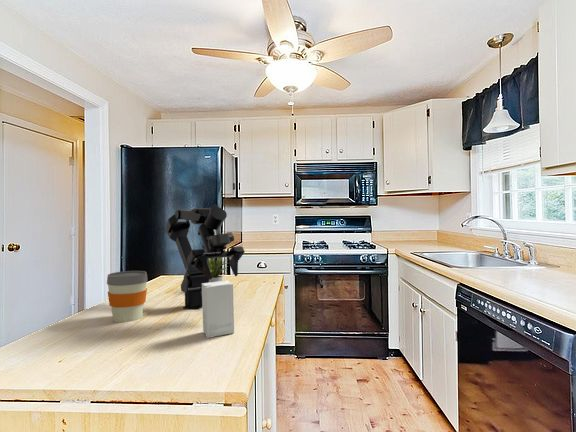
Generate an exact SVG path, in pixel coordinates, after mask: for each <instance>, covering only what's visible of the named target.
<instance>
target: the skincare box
mask: <svg viewBox="0 0 576 432" xmlns="http://www.w3.org/2000/svg"><path fill="white" fill-rule="evenodd" d="M234 302H235V301H234V283H232V282H231V281H229V280H228V279H227V280H222V281H218V282H210V283H202V308H201V309H202V331H203V334H204V335H205V336H206V338H207V339H209V338H213V337H219V336H220V337H221V336H225V335H230V334H234V333H235V313H234V312H235V307H234Z"/></svg>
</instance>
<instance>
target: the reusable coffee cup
mask: <svg viewBox="0 0 576 432" xmlns="http://www.w3.org/2000/svg"><path fill="white" fill-rule="evenodd" d="M147 273H148V272H147V271H145V270H126V271H123V270H122V271H116V272H112V273H108V274H107V280H106V284H107V286H108V291H107V296H108V297H107V299H108V303H109V306H110V307H111V314H112V321H113V322H115V323H129V322H134V321H137V320H141V319H142V318H143V314H144V306H145V305H144V304H145V303H146V299H147V293H148V291H147V290H148V289H147V282H148V280H149V279H148V274H147Z"/></svg>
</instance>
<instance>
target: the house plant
mask: <svg viewBox="0 0 576 432" xmlns="http://www.w3.org/2000/svg"><path fill="white" fill-rule="evenodd" d="M216 259H217V260H216ZM227 261H228V258H209V259H207V264H208V266H209V269H210V272H211V275H212V279H211V280H210V279H209V282H208V283H210V282H218V281H223V279H224V278H223V277H224V275H220V274H221V273H222V272H223V271H225V272H227V270H228V269H227V267H230V265H229V266H225V267H222V266H224V265H227V264H229V262H227Z"/></svg>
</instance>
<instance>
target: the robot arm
mask: <svg viewBox="0 0 576 432" xmlns="http://www.w3.org/2000/svg"><path fill="white" fill-rule="evenodd" d="M227 217H228V214H227V211H226V210H224V209H223V208H221V207H219V205H218V204H212V205H211V206H210V207H209V208H206V207H205V208H204V207H203V208H200V207H197V208H196V207H195V208H192V209H187V208H184V209H183V208H181V209H180V208H179V209H176V210H175V212H174V214H172V215H171V217H169V218H168V219H167V222H166V225H165V232H166V233H167V236H168V237H169V239H170V240H171V241H174V242H175V244H176V247H177V250H178V252H179V256H180V258H181V261H182V264H183V266H184V268H185V272H184V274H183V279H182V280H181V284H180V289H181V290H180V291H181V292H183V293H184V306H183V307H182V308H183V309H189V310H190V309H191V310H192V309H193V310H196V309H197V310H199V309H202V283H208V282H209V279H210V280H211V279H212V275H211V272H210V268H209V266H210V265H209V266H208V264H209V263H208V261H207V260H209V258H210V259H213V258H214V259H218V258H220V259H221V258H222V259H224V258H226V259H227V261H229V262H228V264H229V267H230V269H231V271H232V273H233V275H234V277H237V276H238V273H239V261H240V260H241V258H242V257H243V255H244V254H245V251H246V250H245V249H244V247H243V246H241V245H238V246H231V247H230V249H229V250H226V249H227V245H229V244H231V243H233V242H234V241H235V235H234V233H233V232H232V231H227V232H226V233H219V232H218V230H220V229H221V227H222V225H223V224H224V222H225V220H226V218H227ZM181 220H183V221H181ZM184 220H185V221H184ZM190 222H191V223H190ZM191 224H193V225H199V227H198V231H197V235H198V236H200V237H201V241H202V248H193V249H192V245H191V243H190V241H189V238H188V234H189V230H190V227H191ZM225 250H226V251H225ZM207 263H208V264H207Z"/></svg>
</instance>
